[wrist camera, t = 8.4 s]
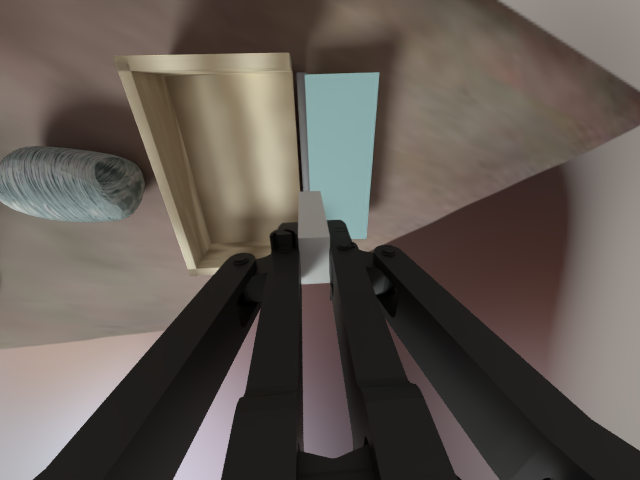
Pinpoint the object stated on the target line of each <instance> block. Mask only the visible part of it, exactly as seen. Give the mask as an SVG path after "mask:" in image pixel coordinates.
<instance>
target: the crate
mask: <svg viewBox="0 0 640 480" xmlns="http://www.w3.org/2000/svg"><path fill="white" fill-rule="evenodd" d="M113 59H114V61H115V64H116V67H117V70H118V73H119V76H120V78H121V81H122V84H123V87H124V90H125V93H126V95H127V98H128V101H129V104H130V107H131V109H132V112H133V115H134V118H135V121H136V124H137V126H138V129H139V132H140V135H141V138H142V141H143V143H144V146H145V149H146V152H147V155H148V158H149V160H150V163H151V166H152V169H153V172H154V175H155V177H156V180H157V183H158V186H159V189H160V191H161V194H162V197H163V200H164V203H165V206H166V208H167V211H168V214H169V217H170V220H171V223H172V225H173V228H174V231H175V234H176V237H177V240H178V242H179V245H180V248H181V251H182V254H183V256H184V259H185V262H186V265H187V268H188V271H189V273H190V276H197V275H214V274H215V273H216V272H217V270H218V269H219V268H220V267H221V266H222V265H223V263H224V262H225V261H226V260H227V259H228V258H229V257H231V256H233V255H235V254H237V253H251V254H253V255H254V256H255V258H256V259H259V258H262V257H266V256H268V255H270V254H271V244H270V236H269V235H270V233H271V232H273V231H274V230H277V229H278V227H279V226H280V225H281V224H282V223H288V222H298V203H299V192H301V190H300V174H299V159H298V143H297V128H296V112H295V97H294V81H293V66H292V61H291V58H290V54H289V53H242V54H190V55H139V56H113Z"/></svg>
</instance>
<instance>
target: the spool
mask: <svg viewBox="0 0 640 480" xmlns="http://www.w3.org/2000/svg"><path fill="white" fill-rule="evenodd" d="M144 188H145V182H144V178H143V174H142V171H141V170H140V168H139V167H138V166H137V165H136V164H135V163H134V162H132V161H130V160H127V159H125V158H122V157H119V156H116V155H112V154H107V153H100V152H94V151H87V150H79V149H71V148H61V147H43V146H32V147H25V148H20V149H17V150H15V151H13V152H11V153H10V154H9V155H7V156H6V157H5V158H4V159H3V160H2V162H1V163H0V201H1V202H2V203H3V204H5V205H7V206H9V207H10V208H12V209H14V210H16V211H19V212H22V213H25V214H27V215H31V216H36V217H40V218H45V219H50V220H61V221H70V222H104V221H116V220H122V219H124V218H127V217H129V216H130V215H131V214H133V212H134V211H135V210H136V209H137V207H138V206H139V204H140V202H141V200H142V197H143V193H144Z"/></svg>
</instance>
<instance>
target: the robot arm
mask: <svg viewBox="0 0 640 480" xmlns="http://www.w3.org/2000/svg"><path fill="white" fill-rule="evenodd" d="M269 236H270V244H271V254H270V255H268V256H266V257H262V258H259V259H256V258H255V256H254V255H253V254H251V253H237V254H235V255H233V256H231V257H229V258H228V259H227V260H226V261H225V262H224V263H223V265H222V266H221V267H220V268H219V269H218V270H217V272H216V273H215V274H214V275H213V276H212V277H211V278H210V280H209V281H208V282H207V283H206V284H205V285H204V287H203V288H202V289H201V290H200V291H199V292H198V293H197V295H196V296H195V297H194V298H193V299H192V300H191V302H190V303H189V304H188V305H187V306H186V307H185V308H184V310H183V311H182V312H181V313H180V314H179V315H178V317H177V318H176V319H175V320H174V321H173V322H172V323H171V325H170V326H169V327H168V328H167V329H166V330H165V332H164V333H163V334H162V335H161V336H160V337H159V339H158V340H157V341H156V342H155V343H154V344H153V345H152V347H151V348H150V349H149V350H148V351H147V352H146V353H145V355H144V356H143V357H142V358H141V359H140V360H139V362H138V363H137V364H136V365H135V366H134V367H133V368H132V370H131V371H130V372H129V373H128V374H127V376H126V377H125V378H124V379H123V380H122V381H121V382H120V383H119V385H118V386H117V387H116V388H115V389H114V390H113V392H112V393H111V394H110V395H109V396H108V397H107V398H106V400H105V401H104V402H103V403H102V404H101V405H100V407H99V408H98V409H97V410H96V411H95V412H94V413H93V415H92V416H91V417H90V418H89V419H88V420H87V422H86V423H85V424H84V425H83V426H82V427H81V428H80V430H79V431H78V432H77V433H76V434H75V435H74V437H73V438H72V439H71V440H70V441H69V442H68V443H67V445H66V446H65V447H64V448H63V449H62V450H61V452H60V453H59V454H58V455H57V456H56V457H55V459H54V460H53V461H52V462H51V463H50V464H49V465H48V467H47V468H46V469H45V470H44V471H42V472H41V473H40V474H39V475H38V476H37V477H35V478H34V479H33V480H173V478H174V476H175V474H176V472H177V470H178V468H179V467H180V465H181V463H182V461H183V459H184V457H185V455H186V453H187V451H188V449H189V447H190V445H191V443H192V441H193V439H194V437H195V435H196V433H197V431H198V429H199V427H200V426H201V423H202V422H203V419H204V418H205V416H206V414H207V412H208V410H209V408H210V406H211V404H212V402H213V400H214V398H215V396H216V394H217V392H218V390H219V388H220V386H221V384H222V382H223V381H224V379H225V377H226V375H227V373H228V371H229V369H230V367H231V365H232V363H233V361H234V359H235V357H236V355H237V353H238V351H239V349H240V347H241V345H242V343H243V341H244V339H245V338H246V336H247V334H248V332H249V330H250V328H251V326H252V324H253V322H254V320H255V318H256V316H257V314H258V312H259V310H260V308H261V310H260V315H259V322H258V326H257V332H256V337H255V342H254V348H253V354H252V359H251V364H250V370H249V375H248V381H247V386H246V391H245V394H244V396H243V397H241V398H240V399H239V401H238V403H237V406H236V410H235V415H234V419H233V424H232V429H231V434H230V439H229V444H228V448H227V453H226V458H225V463H224V468H223V473H222V478H221V480H461V479H460V478H459V477H458V476H457V475H456V474H455V473H454V470H453V468H452V466H451V463H450V461H449V458H448V456H447V453H446V451H445V448H444V446H443V443H442V441H441V439H440V436H439V434H438V431H437V429H436V426H435V424H434V421H433V419H432V416H431V414H430V411H429V409H428V407H427V404H426V402H425V399H424V397H423V395H422V393H421V391H420V389H419V388H418V386H417V385H416V384H412V383H410V382H409V381H408V379H407V376H406V374H405V371H404V369H403V366H402V363H401V361H400V358H399V355H398V353H397V350H396V347H395V345H394V342H393V339H392V337H391V334H390V331H389V329H388V326H387V323H386V321H385V319H386V320H387V322H388V323H389V325H390V326H391V327H392V329H393V330H394V331H395V333H396V334H397V336H398V337H399V339H400V340H401V342H402V343H403V344H404V346H405V347H406V349H407V350H408V352H409V353H410V354H411V356H412V357H413V359H414V360H415V361H416V363H417V364H418V366H419V367H420V368H421V370H422V371H423V373H424V374H425V376H426V377H427V378H428V380H429V381H430V383H431V384H432V385H433V387H434V388H435V390H436V391H437V393H438V394H439V395H440V397H441V398H442V399H443V401H444V403H445V404H446V405H447V407H448V408H449V410H450V411H451V412H452V414H453V415H454V417H455V418H456V419H457V421H458V422H459V424H460V425H461V427H462V428H463V429H464V431H465V432H466V434H467V435H468V436H469V438H470V439H471V441H472V442H473V444H474V445H475V447H476V448H477V449H478V450H479V452H480V454H481V455H482V456H483V458H484V459H485V460H486V462H487V463H488V465H489V466H490V467H491V469H492V470H493V471H494V473H495V474H496V475H497V477H498V478H499V479H500V480H640V451H639V450H638V449H636V448H635V447H633V446H631V445H630V444H628V443H627V442H625V441H624V440H622V439H621V438H619V437H618V436H616V435H615V434H613V433H611V432H610V431H608V430H607V429H605V428H603V427H602V426H601V425H599V424H598V423H596V422H594V421H593V420H591V419H590V418H589V417H588V416H587V415H586V414H585V413H584V412H583V411H581V410H580V409H579V408H578V407H577V406H576V405H574V404H573V403H572V402H571V401H570V400H569V399H568V398H567V397H566V396H564V395H563V394H562V393H561V392H560V391H559V390H558V389H557V388H556V387H554V386H553V385H552V384H551V383H550V382H549V381H548V380H546V379H545V378H544V377H543V376H542V375H541V374H540V373H539V372H538V371H536V370H535V369H534V368H533V367H532V366H531V365H530V364H529V363H527V362H526V361H525V360H524V359H523V358H521V356H520V355H518V354H517V353H516V352H515V351H514V350H513V349H512V348H511V347H509V346H508V345H507V344H506V343H505V342H504V341H503V340H502V339H500V338H499V337H498V336H497V335H496V334H495V333H494V332H493V331H491V330H490V329H489V328H488V327H487V326H486V325H485V324H484V323H482V322H481V321H480V320H479V319H478V318H477V317H476V316H474V315H473V314H472V313H471V312H470V311H469V310H468V309H467V308H466V307H464V306H463V305H462V304H461V303H460V302H459V301H458V300H457V299H455V298H454V297H453V296H452V295H451V294H450V293H449V292H448V291H446V290H445V289H444V288H443V287H442V286H441V285H439V284H438V283H437V282H436V281H435V280H434V279H433V278H432V277H431V276H430V275H428V274H427V273H426V272H425V271H424V270H423V269H422V268H420V267H419V266H418V265H417V264H416V263H415V262H414V261H413V260H412V259H410V258H409V257H408V256H407V255H406V254H405V253H404V252H403V251H401V250H400V249H399V248H397V247H394V246H391V245H381V246H378V247H376V248H375V249H374V253H372V252H366V251H362V250H359V249H358V246H357V245H356V243H354V242H352V240H351V237H350V234H349V232H348V229H347V226H346V223H345V222H343V221H342V220H326V215H325V211H324V206H323V201H322V196H321V192H320V191H305V192H299V203H298V222H288V223H282V224H281V225H280V226H279V227H278V229H277V230H274V231H273V232H271V233H270V235H269ZM329 282H330V300H332V304H333V310H334V316H335V323H336V330H337V337H338V344H339V350H340V357H341V364H342V370H343V377H344V383H345V390H346V397H347V403H348V410H349V417H350V423H351V430H352V438H353V451H352V452H349V453H347V454H345V455H343V456H340V457H338V458H333V459H332V458H327V457H323V456H319V455H314V454H310V453H306V452H304V443H303V366H302V288H301V284H314V283H329Z"/></svg>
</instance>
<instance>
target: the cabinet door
mask: <svg viewBox="0 0 640 480" xmlns="http://www.w3.org/2000/svg"><path fill="white" fill-rule="evenodd" d="M296 79H297V96H298V113H299V130H300V147H301V164H302V180H303V192H305V191H320V192H321V196H322V201H323V206H324V211H325V215H326V220H342V221H343V222H345V223H346V226H347V229H348V232H349V234H350V237H351V239H366V236H367V224H368V211H369V198H370V186H371V173H372V160H373V148H374V135H375V122H376V110H377V97H378V84H379V72H374V73H341V74H309V75H308V73H307V72H298V73H296Z"/></svg>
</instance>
